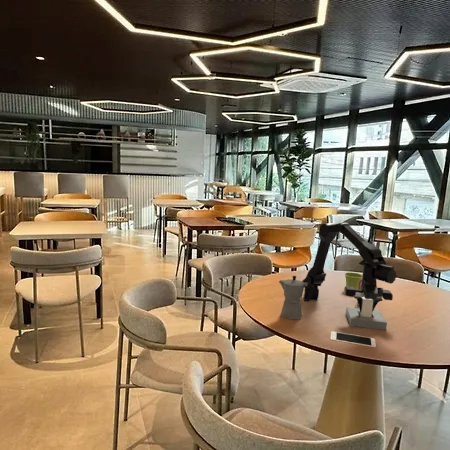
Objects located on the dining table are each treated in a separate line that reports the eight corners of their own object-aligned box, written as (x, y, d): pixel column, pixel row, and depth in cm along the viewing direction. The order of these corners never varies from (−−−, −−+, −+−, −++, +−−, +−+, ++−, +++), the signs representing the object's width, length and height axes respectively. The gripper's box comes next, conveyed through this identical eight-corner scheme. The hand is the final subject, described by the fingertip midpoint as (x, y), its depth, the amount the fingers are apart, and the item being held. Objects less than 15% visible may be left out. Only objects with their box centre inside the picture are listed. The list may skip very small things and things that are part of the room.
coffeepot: (274, 316, 161) (276, 276, 158) (279, 309, 169) (281, 271, 167) (310, 323, 155) (313, 281, 153) (313, 315, 164) (316, 275, 161)
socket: (350, 325, 154) (351, 318, 154) (345, 313, 168) (346, 307, 168) (386, 329, 152) (386, 322, 152) (378, 316, 166) (379, 310, 165)
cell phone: (331, 332, 148) (331, 331, 148) (374, 339, 143) (374, 338, 143) (330, 340, 141) (330, 339, 141) (375, 348, 136) (375, 346, 136)
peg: (361, 320, 158) (363, 299, 157) (359, 316, 162) (361, 296, 161) (371, 321, 158) (373, 300, 156) (369, 317, 161) (371, 297, 160)
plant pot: (365, 291, 202) (366, 275, 200) (354, 294, 196) (355, 278, 195) (350, 286, 209) (351, 271, 208) (339, 289, 204) (340, 273, 203)
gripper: (349, 280, 151) (345, 316, 153) (398, 284, 148) (393, 322, 150) (345, 273, 162) (342, 307, 164) (391, 277, 159) (387, 312, 161)
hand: (365, 312), depth 159 cm, fingers closed on peg, 4 cm apart
